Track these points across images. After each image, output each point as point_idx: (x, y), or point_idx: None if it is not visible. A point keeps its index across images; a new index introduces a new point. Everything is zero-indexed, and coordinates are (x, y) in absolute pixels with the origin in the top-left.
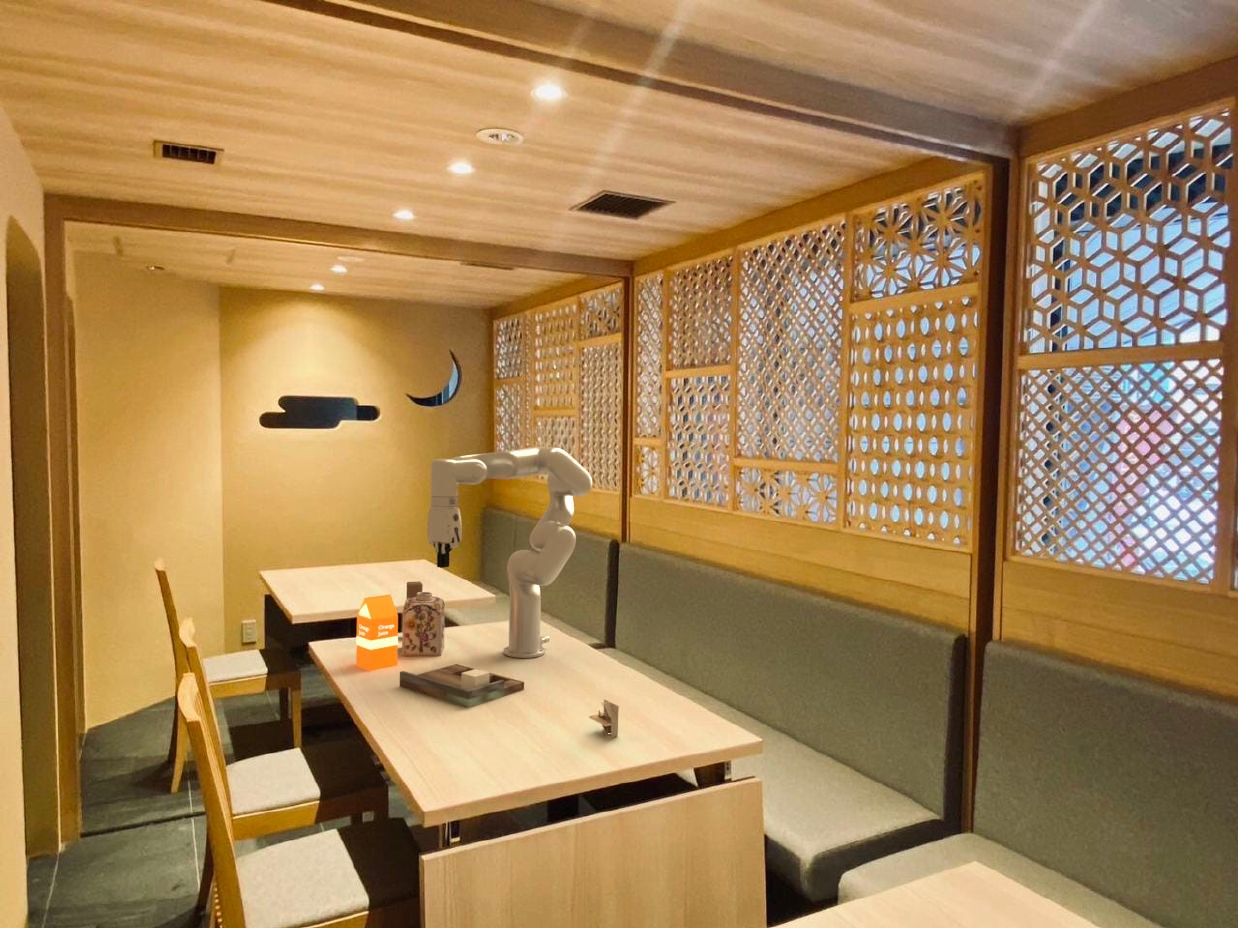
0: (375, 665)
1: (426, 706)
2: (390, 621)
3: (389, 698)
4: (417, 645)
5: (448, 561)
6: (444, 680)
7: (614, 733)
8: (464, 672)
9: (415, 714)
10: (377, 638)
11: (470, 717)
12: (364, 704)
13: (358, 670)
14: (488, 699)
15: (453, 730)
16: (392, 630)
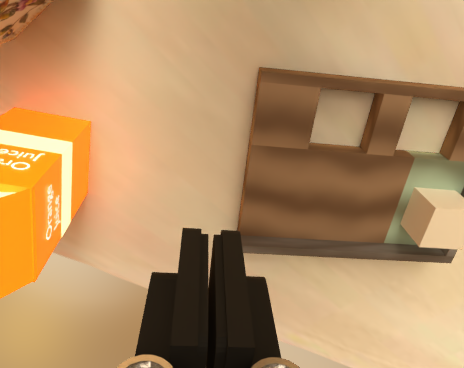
0: (85, 186)
1: (359, 275)
2: (40, 206)
3: (273, 282)
4: (28, 10)
5: (267, 295)
6: (328, 196)
7: None
8: (423, 241)
9: (366, 306)
10: (60, 220)
11: (458, 272)
12: None
13: None
14: None
15: (458, 318)
16: (54, 182)
